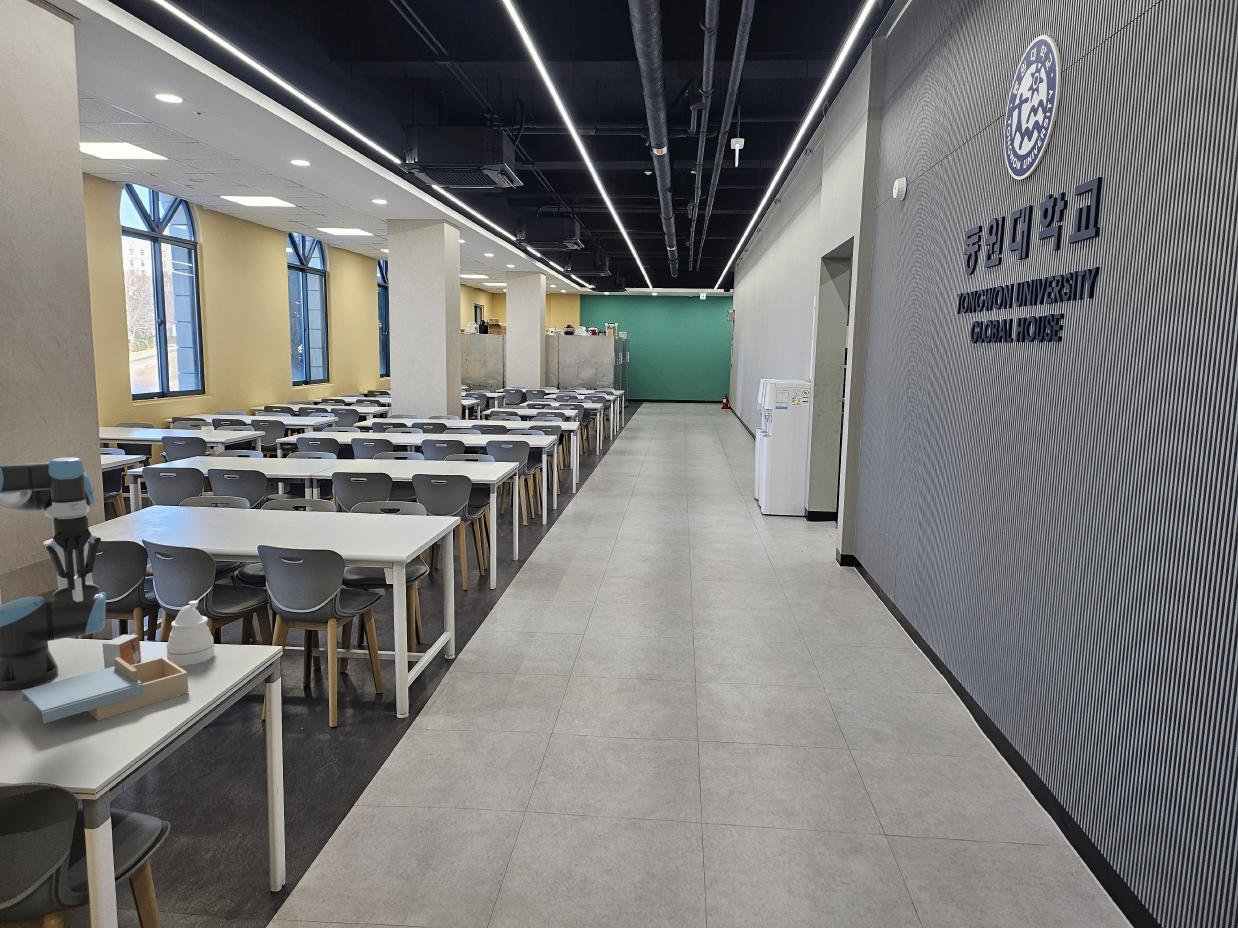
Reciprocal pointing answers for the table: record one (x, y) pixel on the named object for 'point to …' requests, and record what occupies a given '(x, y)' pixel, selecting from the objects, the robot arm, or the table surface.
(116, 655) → the small box
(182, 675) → the tray
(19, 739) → the table surface
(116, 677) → the lid
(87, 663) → the table surface
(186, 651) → the honey pot
